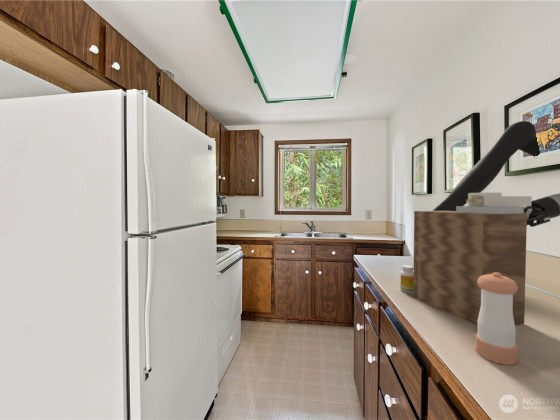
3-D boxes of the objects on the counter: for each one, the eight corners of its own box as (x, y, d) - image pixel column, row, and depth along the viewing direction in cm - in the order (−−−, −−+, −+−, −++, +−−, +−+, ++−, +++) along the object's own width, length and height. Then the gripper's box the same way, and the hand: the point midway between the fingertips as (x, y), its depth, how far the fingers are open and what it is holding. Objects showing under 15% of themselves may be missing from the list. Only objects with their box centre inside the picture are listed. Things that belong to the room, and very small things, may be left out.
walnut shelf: (413, 296, 93) (414, 211, 92) (442, 292, 96) (443, 210, 95) (488, 331, 68) (491, 214, 67) (524, 324, 71) (526, 213, 71)
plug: (463, 206, 75) (463, 193, 75) (513, 205, 81) (514, 193, 81) (481, 206, 70) (481, 192, 70) (533, 206, 76) (534, 193, 76)
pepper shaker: (467, 346, 60) (468, 268, 60) (494, 345, 61) (496, 268, 60) (495, 366, 53) (497, 278, 53) (526, 364, 54) (528, 277, 53)
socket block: (456, 212, 78) (456, 206, 78) (482, 212, 81) (482, 205, 81) (494, 214, 68) (494, 206, 68) (523, 213, 71) (523, 206, 71)
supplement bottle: (417, 293, 96) (417, 268, 96) (402, 292, 97) (402, 267, 97) (412, 288, 101) (412, 265, 101) (398, 287, 102) (398, 264, 102)
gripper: (532, 192, 93) (485, 207, 96) (570, 201, 79) (514, 218, 83) (535, 210, 95) (489, 224, 98) (573, 222, 81) (518, 237, 84)
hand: (500, 221), depth 90 cm, fingers open, 8 cm apart
